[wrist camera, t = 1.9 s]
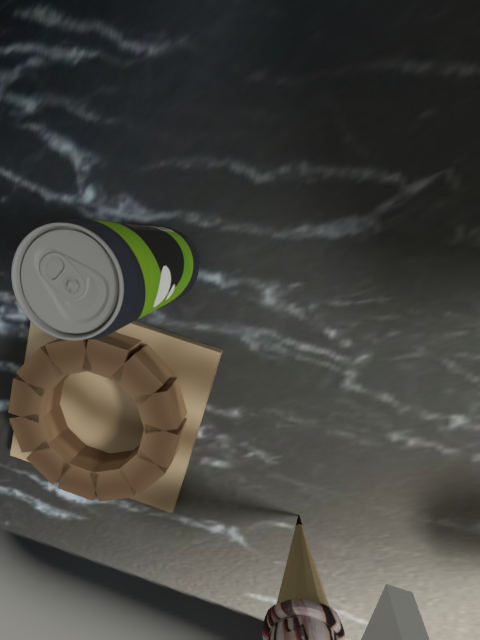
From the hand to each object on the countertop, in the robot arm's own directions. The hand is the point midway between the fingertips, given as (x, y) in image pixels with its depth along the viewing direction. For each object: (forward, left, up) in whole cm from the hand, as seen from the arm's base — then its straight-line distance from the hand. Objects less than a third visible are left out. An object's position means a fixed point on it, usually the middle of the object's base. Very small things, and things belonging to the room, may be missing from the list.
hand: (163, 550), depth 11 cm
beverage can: (-5, -9, -22) cm, 25 cm away
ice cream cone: (+15, +10, -22) cm, 29 cm away
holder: (+10, -11, -22) cm, 27 cm away
